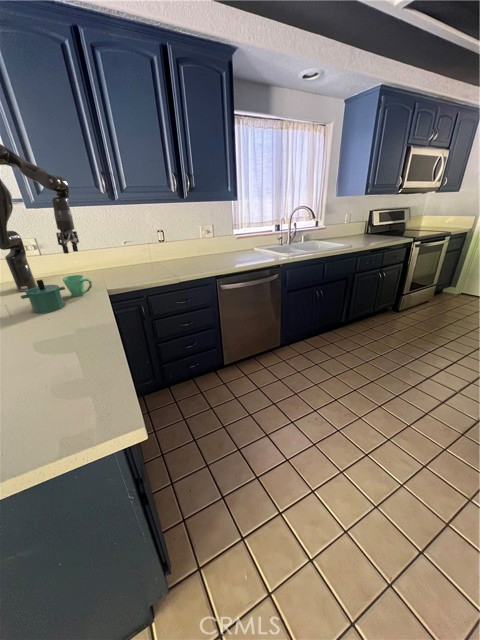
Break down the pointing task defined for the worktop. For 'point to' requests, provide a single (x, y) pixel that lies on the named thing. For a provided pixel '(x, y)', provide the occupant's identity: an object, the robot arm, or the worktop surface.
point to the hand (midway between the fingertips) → (71, 252)
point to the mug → (76, 284)
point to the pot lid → (42, 289)
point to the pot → (46, 301)
